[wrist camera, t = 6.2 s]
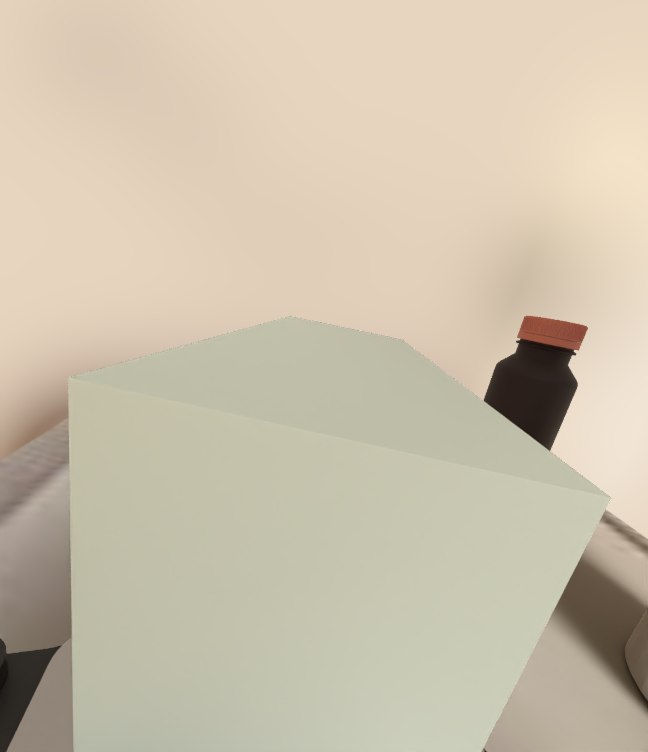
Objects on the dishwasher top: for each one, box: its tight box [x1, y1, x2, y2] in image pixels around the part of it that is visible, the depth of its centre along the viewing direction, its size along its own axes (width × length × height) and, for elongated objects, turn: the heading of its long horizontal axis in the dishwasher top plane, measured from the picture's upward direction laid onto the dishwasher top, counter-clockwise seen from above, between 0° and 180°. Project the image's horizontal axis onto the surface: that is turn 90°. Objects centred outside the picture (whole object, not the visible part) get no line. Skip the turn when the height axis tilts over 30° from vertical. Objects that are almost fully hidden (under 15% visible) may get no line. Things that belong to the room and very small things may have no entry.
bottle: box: [484, 316, 588, 451], centre depth 31 cm, size 7×7×20 cm
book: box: [68, 316, 611, 752], centre depth 10 cm, size 5×11×17 cm, turn 175°
